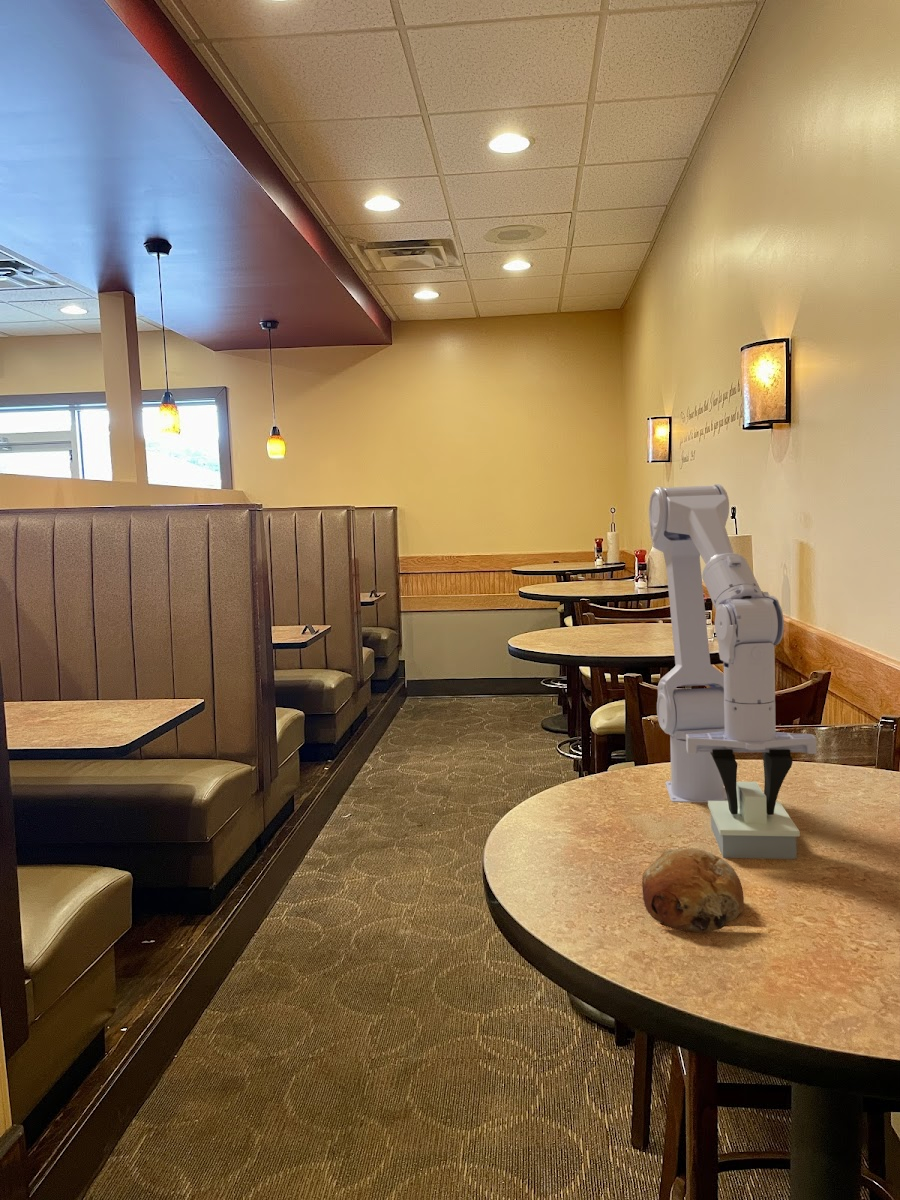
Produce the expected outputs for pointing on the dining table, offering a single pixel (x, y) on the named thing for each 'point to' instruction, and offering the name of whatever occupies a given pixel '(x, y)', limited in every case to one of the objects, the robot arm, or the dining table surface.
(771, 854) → the box
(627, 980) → the dining table surface
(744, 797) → the lid
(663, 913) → the bread roll
